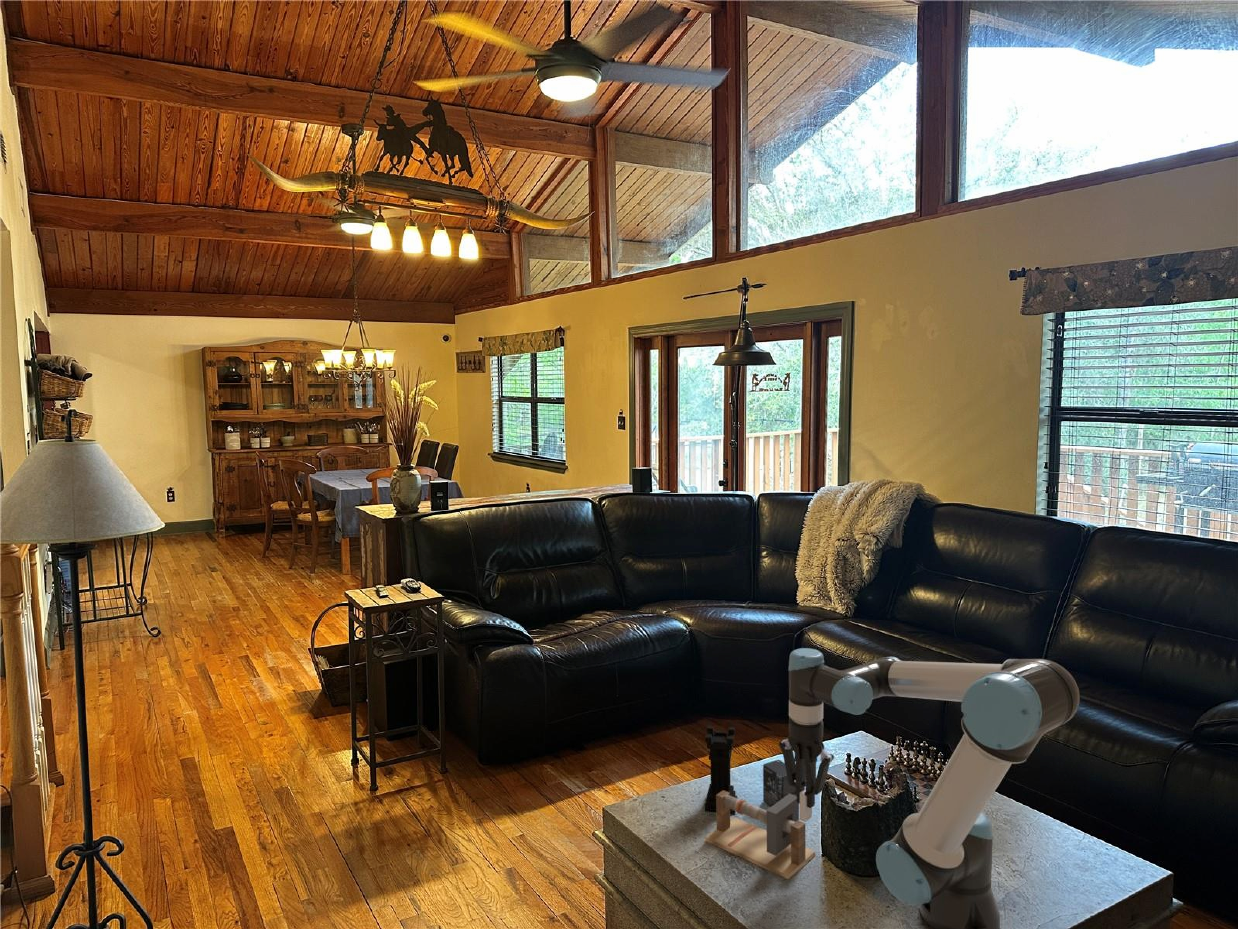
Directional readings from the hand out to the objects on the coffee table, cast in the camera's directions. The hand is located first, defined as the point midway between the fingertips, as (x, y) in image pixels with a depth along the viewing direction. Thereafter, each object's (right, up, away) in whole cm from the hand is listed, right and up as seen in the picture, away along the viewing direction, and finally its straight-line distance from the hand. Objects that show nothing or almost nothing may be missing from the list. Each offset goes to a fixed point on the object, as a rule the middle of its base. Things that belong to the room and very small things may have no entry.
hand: (805, 818), depth 179 cm
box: (0, -10, +28) cm, 30 cm away
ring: (-4, -8, +5) cm, 10 cm away
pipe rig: (-9, -11, +10) cm, 17 cm away
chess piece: (-15, -10, +29) cm, 35 cm away
